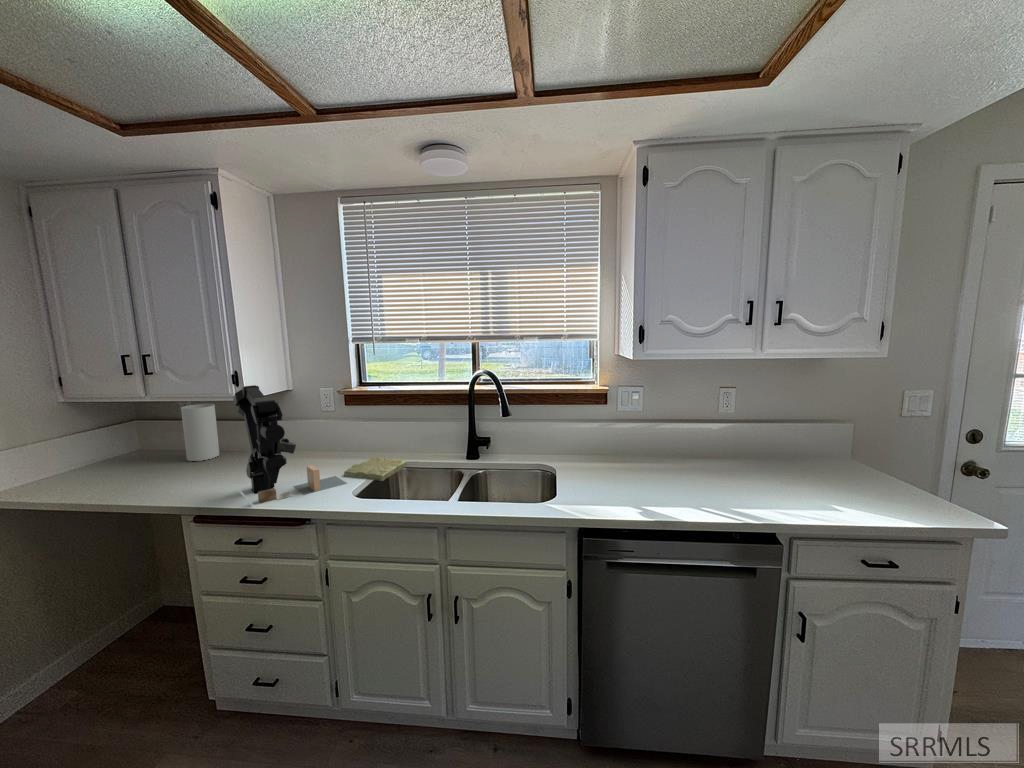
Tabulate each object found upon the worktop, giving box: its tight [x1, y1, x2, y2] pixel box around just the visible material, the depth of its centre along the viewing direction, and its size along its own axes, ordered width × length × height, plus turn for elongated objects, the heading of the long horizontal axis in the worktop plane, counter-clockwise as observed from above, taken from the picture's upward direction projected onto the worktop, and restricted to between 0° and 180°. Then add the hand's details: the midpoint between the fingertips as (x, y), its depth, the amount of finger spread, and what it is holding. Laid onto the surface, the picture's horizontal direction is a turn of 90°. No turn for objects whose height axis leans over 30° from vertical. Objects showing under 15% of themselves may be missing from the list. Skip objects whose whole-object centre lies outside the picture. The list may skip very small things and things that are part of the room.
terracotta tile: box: [306, 464, 321, 492], centre depth 154 cm, size 2×7×8 cm, turn 44°
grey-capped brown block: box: [257, 487, 294, 504], centre depth 146 cm, size 10×5×4 cm, turn 134°
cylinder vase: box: [180, 403, 220, 462], centre depth 194 cm, size 12×12×25 cm
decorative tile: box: [343, 457, 408, 482], centre depth 175 cm, size 19×20×4 cm
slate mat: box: [292, 475, 348, 496], centre depth 158 cm, size 16×12×1 cm
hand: (270, 479), depth 144 cm, fingers open, 9 cm apart
